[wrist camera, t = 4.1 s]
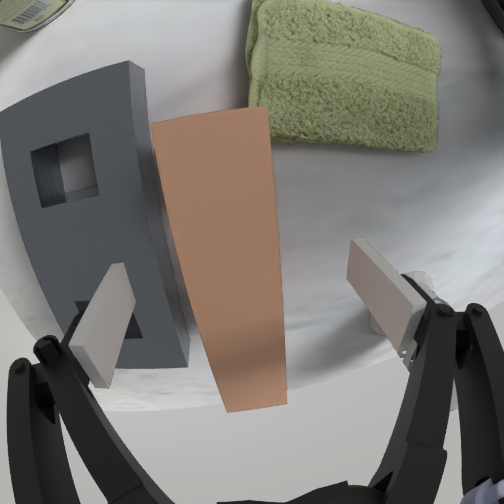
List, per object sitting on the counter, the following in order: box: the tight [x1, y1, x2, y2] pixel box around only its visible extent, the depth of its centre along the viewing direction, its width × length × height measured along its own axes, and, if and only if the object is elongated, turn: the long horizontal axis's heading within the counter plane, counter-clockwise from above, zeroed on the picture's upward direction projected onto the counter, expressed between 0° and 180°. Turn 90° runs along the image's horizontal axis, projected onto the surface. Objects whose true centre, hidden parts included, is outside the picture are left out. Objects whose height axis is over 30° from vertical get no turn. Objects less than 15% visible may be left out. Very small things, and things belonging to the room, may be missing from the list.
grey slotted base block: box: [0, 60, 190, 369], centre depth 20 cm, size 26×12×4 cm, turn 3°
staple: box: [151, 106, 287, 413], centre depth 18 cm, size 17×4×12 cm, turn 6°
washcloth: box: [245, 0, 441, 153], centre depth 17 cm, size 13×18×3 cm
